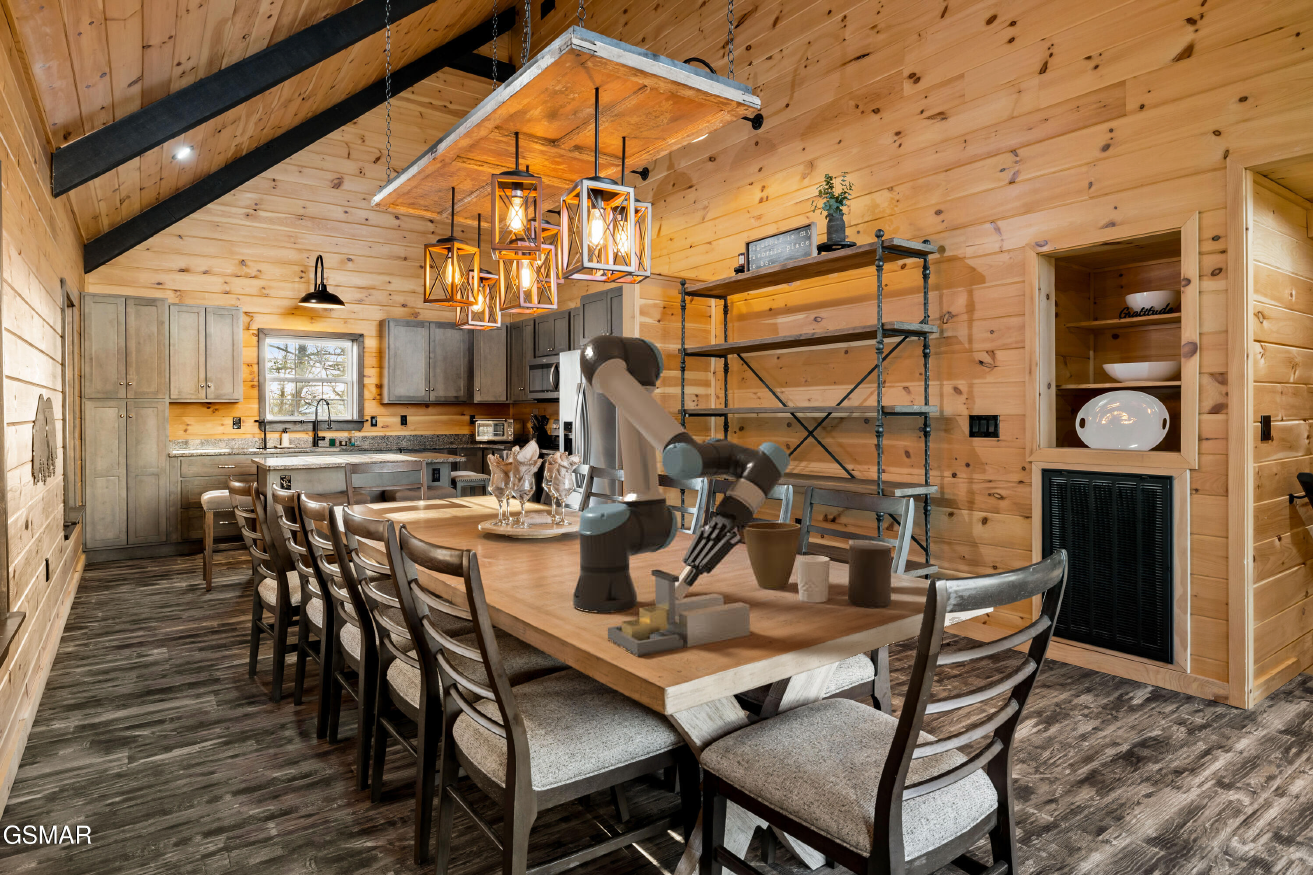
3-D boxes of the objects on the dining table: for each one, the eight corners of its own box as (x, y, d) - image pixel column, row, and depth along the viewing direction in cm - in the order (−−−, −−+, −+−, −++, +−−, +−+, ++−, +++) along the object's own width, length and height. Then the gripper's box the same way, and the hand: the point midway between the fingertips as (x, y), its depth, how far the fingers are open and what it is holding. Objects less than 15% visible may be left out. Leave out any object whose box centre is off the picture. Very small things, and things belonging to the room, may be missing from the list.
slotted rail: (715, 621, 157) (715, 593, 157) (749, 634, 147) (749, 605, 147) (655, 631, 150) (655, 602, 149) (687, 647, 139) (687, 615, 139)
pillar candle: (866, 609, 165) (867, 544, 165) (839, 600, 174) (840, 537, 174) (900, 605, 169) (901, 541, 169) (872, 596, 178) (872, 535, 178)
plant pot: (793, 579, 198) (792, 520, 197) (807, 592, 183) (807, 528, 183) (738, 580, 197) (738, 521, 197) (748, 593, 182) (748, 529, 182)
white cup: (830, 604, 171) (830, 561, 171) (796, 602, 172) (796, 560, 172) (829, 596, 179) (829, 555, 178) (796, 595, 180) (796, 554, 180)
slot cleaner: (658, 613, 147) (657, 569, 147) (679, 622, 141) (679, 576, 140) (651, 614, 147) (651, 570, 146) (672, 623, 140) (672, 577, 140)
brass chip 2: (657, 624, 145) (656, 605, 145) (667, 629, 142) (667, 609, 141) (639, 627, 143) (639, 607, 143) (649, 632, 140) (649, 612, 139)
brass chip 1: (639, 618, 143) (621, 621, 141) (649, 623, 139) (631, 626, 137) (639, 638, 143) (621, 642, 141) (650, 644, 140) (631, 647, 138)
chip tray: (651, 632, 149) (651, 620, 149) (683, 647, 139) (682, 634, 139) (607, 640, 144) (607, 627, 144) (637, 656, 134) (637, 643, 134)
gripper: (769, 520, 148) (704, 614, 140) (731, 514, 159) (668, 601, 151) (748, 496, 145) (680, 591, 137) (710, 491, 157) (646, 579, 148)
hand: (674, 596), depth 144 cm, fingers closed
